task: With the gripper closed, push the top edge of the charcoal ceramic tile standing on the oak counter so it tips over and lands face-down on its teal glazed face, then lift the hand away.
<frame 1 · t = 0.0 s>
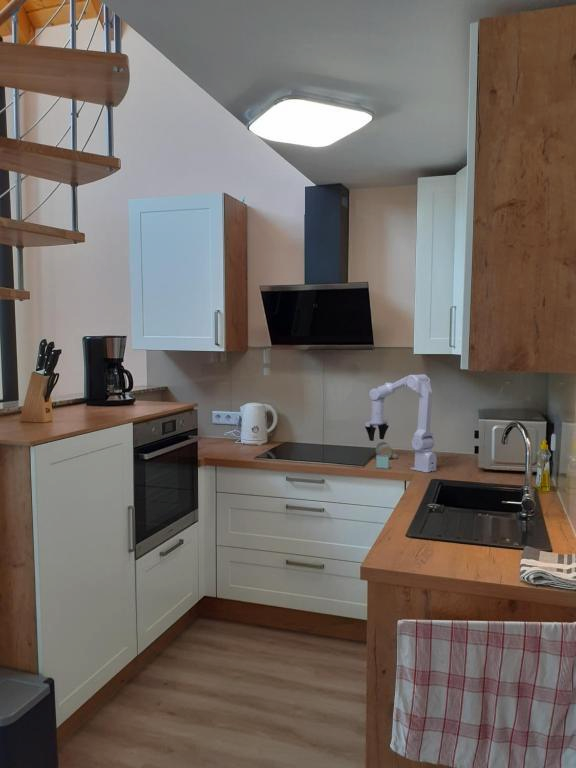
hand: (376, 439, 298), 10 cm above the worktop, tool pointing down, fingers open, 7 cm apart
tile: (382, 468, 280), on the worktop
ceramic mug: (386, 458, 304), on the worktop
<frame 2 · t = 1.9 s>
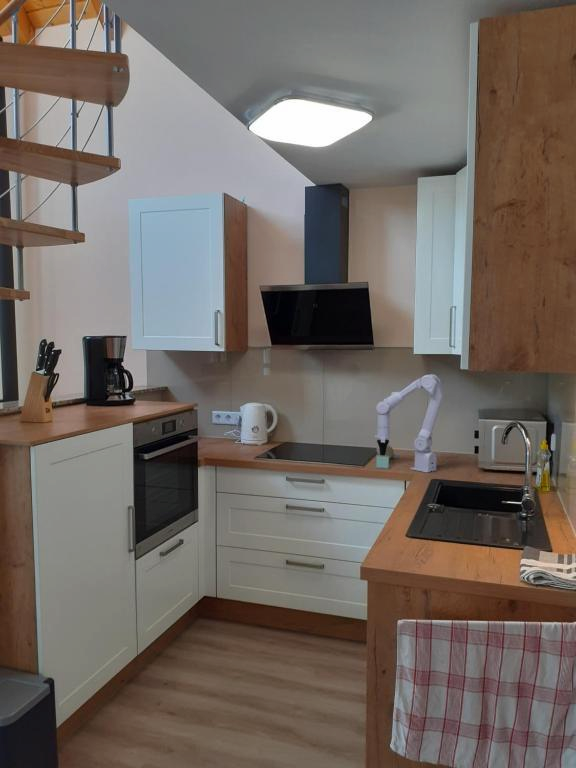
hand: (382, 455, 286), 5 cm above the worktop, tool pointing down, fingers closed
nothing on the worktop moved.
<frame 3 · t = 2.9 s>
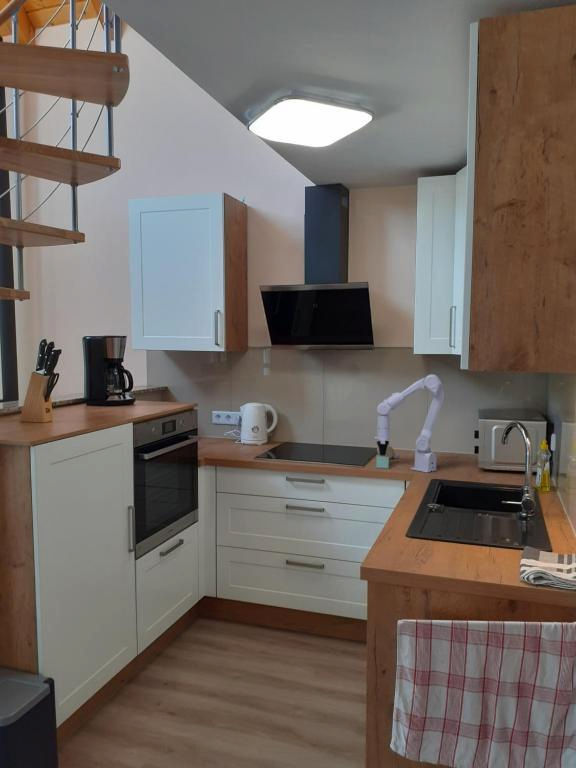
hand: (382, 456, 283), 5 cm above the worktop, tool pointing down, fingers closed
nothing on the worktop moved.
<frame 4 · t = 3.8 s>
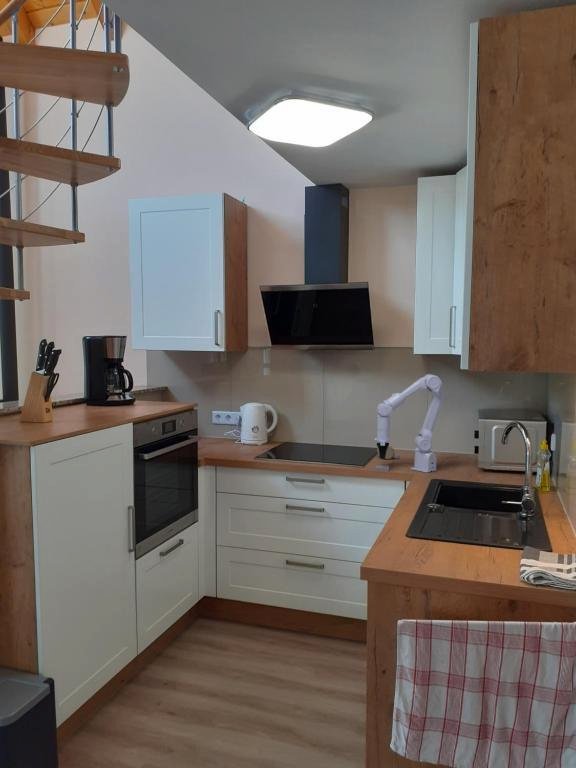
hand: (382, 458, 278), 5 cm above the worktop, tool pointing down, fingers closed
tile: (382, 467, 279), point 1 cm above the worktop, tilted 90°
everything else where it was.
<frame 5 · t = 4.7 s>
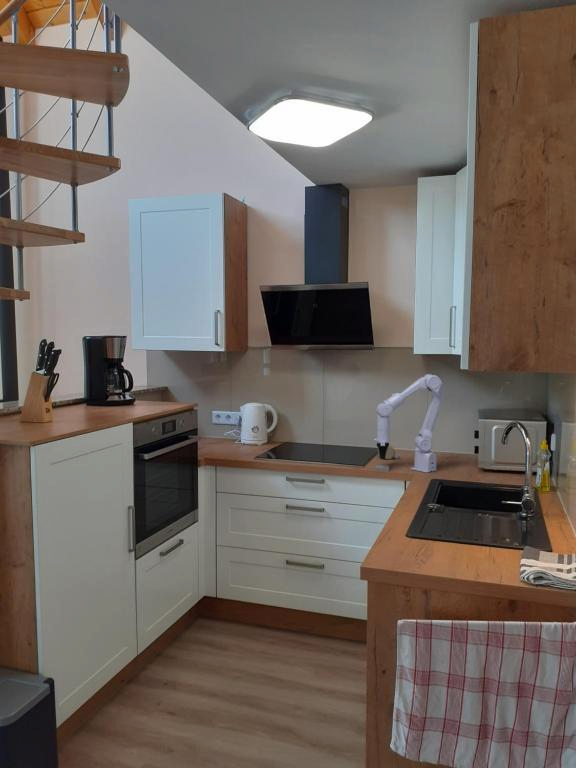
hand: (382, 458, 277), 5 cm above the worktop, tool pointing down, fingers closed
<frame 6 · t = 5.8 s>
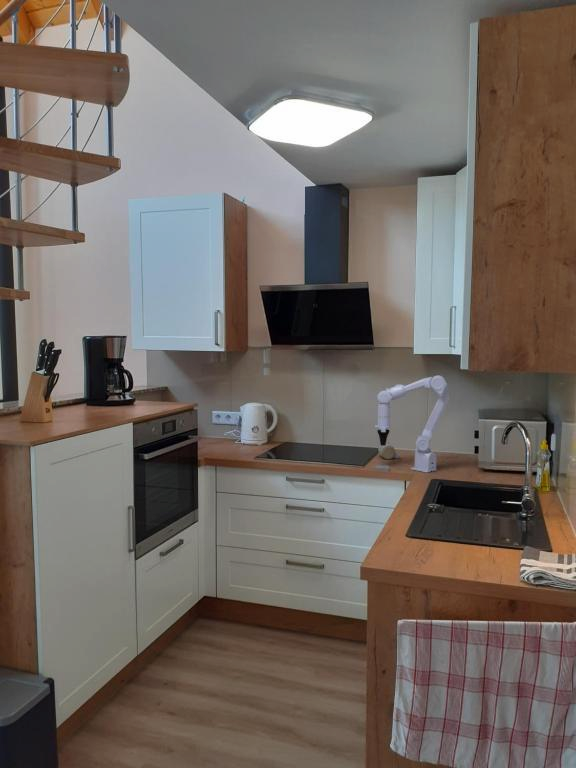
hand: (383, 445, 282), 10 cm above the worktop, tool pointing down, fingers closed
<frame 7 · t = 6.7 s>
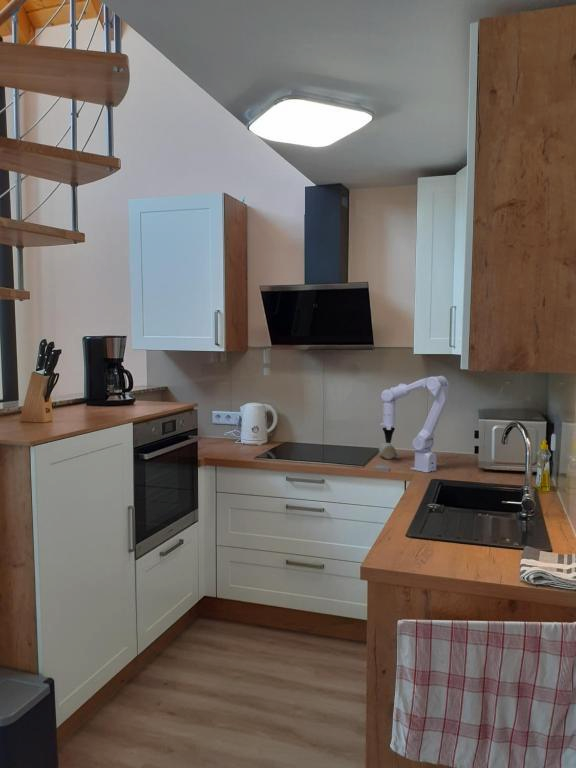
hand: (388, 442, 289), 10 cm above the worktop, tool pointing down, fingers closed
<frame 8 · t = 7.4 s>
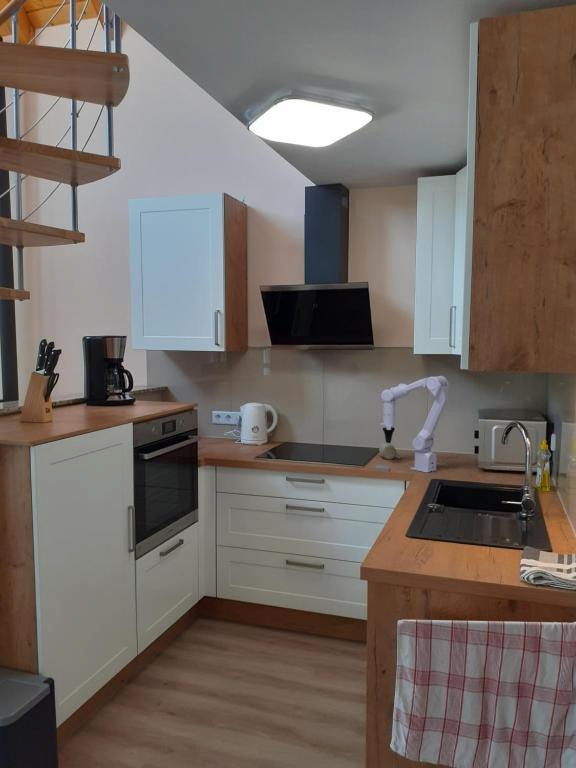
hand: (388, 442, 289), 10 cm above the worktop, tool pointing down, fingers closed
at the end: tile tilted 90°; tile inside the target area (1.8 cm from its centre), point 0.6 cm above the worktop; tile touching worktop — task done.
